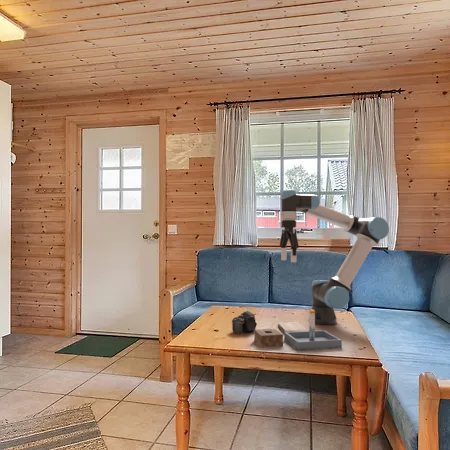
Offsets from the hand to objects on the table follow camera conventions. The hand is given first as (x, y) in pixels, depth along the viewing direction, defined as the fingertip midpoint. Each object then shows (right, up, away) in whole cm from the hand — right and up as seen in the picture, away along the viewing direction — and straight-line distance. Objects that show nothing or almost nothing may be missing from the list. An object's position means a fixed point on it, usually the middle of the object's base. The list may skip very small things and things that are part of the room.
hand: (288, 261), depth 190 cm
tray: (+6, -34, -26) cm, 43 cm away
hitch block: (-13, -34, -26) cm, 45 cm away
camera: (-22, -35, -6) cm, 42 cm away
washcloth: (+1, -35, -2) cm, 36 cm away
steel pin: (+6, -33, -26) cm, 43 cm away
